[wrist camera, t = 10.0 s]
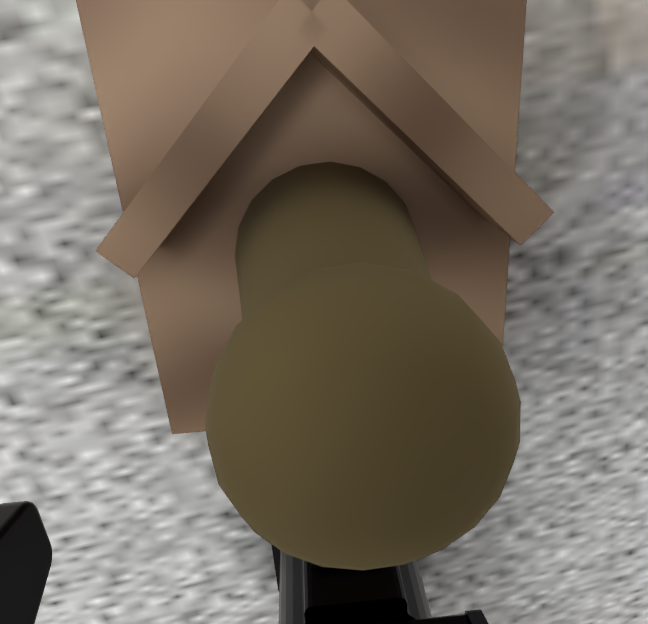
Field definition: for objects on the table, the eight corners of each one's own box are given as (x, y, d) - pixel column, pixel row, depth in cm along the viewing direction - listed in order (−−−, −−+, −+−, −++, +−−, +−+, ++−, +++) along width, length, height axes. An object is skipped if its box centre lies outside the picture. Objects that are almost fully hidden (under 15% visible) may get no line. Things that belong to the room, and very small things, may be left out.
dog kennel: (485, 383, 22) (531, 453, 18) (179, 411, 21) (153, 489, 17) (510, -55, 16) (588, -103, 12) (87, -25, 16) (14, -63, 11)
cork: (426, 163, 17) (634, 286, 7) (409, 338, 19) (542, 625, 9) (231, 159, 16) (134, 282, 6) (237, 338, 19) (175, 637, 9)
